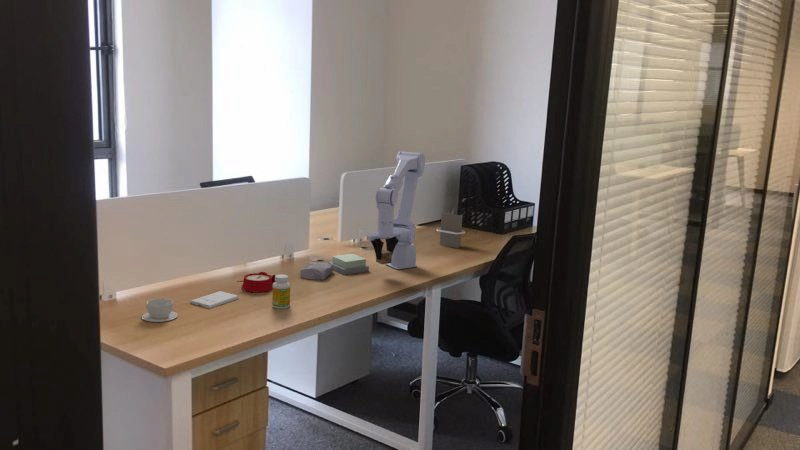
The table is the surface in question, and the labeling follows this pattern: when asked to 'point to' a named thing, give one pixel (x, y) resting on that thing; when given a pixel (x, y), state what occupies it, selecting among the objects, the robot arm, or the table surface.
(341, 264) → the green top slab
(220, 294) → the external hard drive
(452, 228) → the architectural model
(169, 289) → the table surface
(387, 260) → the walnut cube
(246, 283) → the alarm clock
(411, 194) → the robot arm
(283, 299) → the supplement bottle
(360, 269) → the grey base slab
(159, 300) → the teacup
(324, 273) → the stone block
